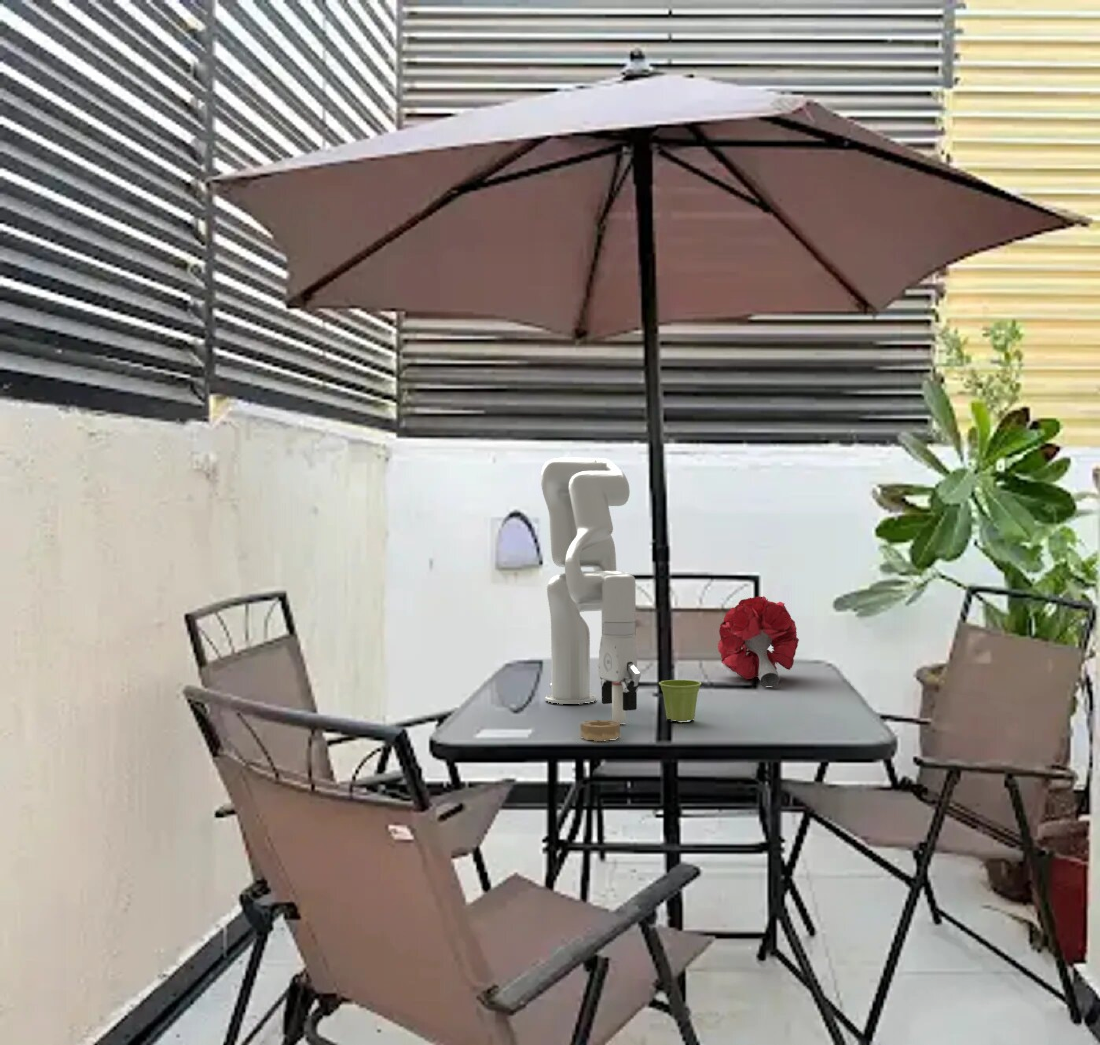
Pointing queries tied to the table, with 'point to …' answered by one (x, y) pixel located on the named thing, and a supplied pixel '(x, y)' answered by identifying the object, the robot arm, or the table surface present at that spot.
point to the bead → (600, 730)
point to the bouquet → (758, 639)
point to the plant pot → (680, 698)
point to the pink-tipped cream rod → (618, 703)
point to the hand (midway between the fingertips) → (618, 706)
